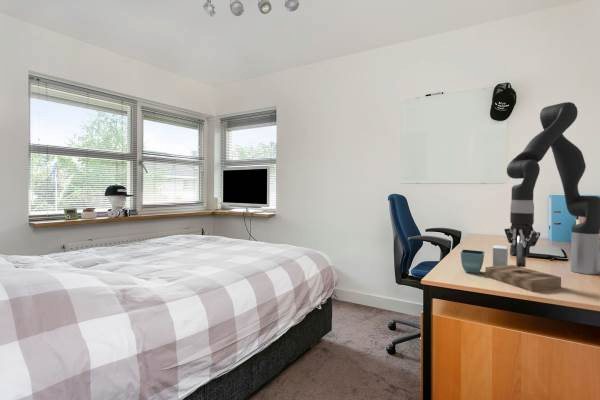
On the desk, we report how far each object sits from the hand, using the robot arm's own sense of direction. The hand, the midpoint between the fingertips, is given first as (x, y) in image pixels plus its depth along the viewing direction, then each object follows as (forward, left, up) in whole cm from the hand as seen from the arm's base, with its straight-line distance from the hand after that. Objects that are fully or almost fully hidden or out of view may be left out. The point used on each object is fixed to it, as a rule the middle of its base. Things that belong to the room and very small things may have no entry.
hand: (521, 255), depth 125 cm
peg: (0, 0, -4) cm, 4 cm away
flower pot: (+6, -18, -11) cm, 22 cm away
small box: (-8, -17, -11) cm, 22 cm away
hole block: (0, 0, -10) cm, 10 cm away
